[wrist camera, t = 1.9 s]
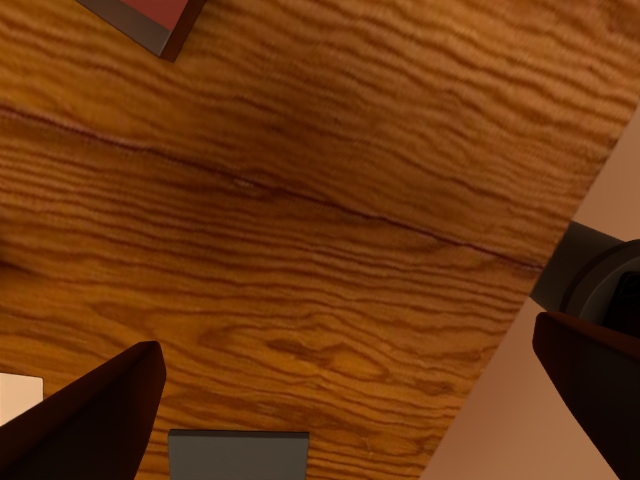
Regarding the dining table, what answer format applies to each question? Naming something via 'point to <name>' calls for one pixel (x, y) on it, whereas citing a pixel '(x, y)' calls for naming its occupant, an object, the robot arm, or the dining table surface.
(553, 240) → the dining table surface
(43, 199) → the dining table surface
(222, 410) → the dining table surface
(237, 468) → the mat
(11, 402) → the napkin holder
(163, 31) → the dark brown bookend
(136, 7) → the block
